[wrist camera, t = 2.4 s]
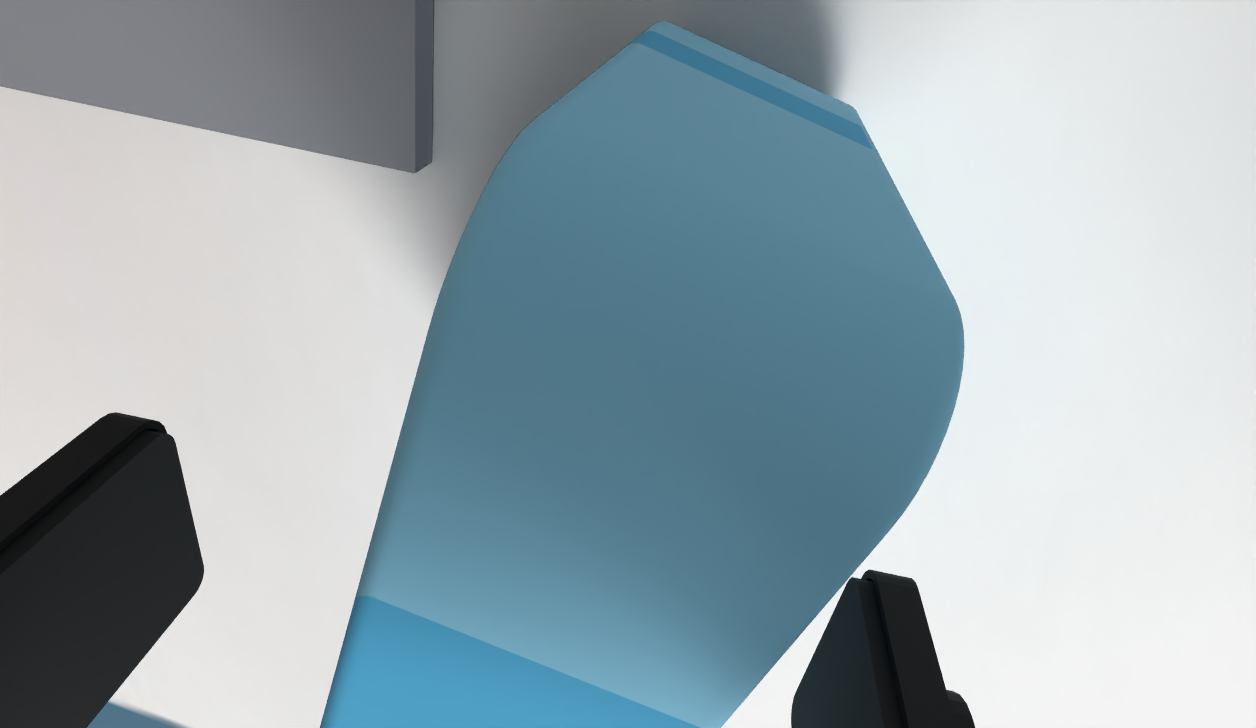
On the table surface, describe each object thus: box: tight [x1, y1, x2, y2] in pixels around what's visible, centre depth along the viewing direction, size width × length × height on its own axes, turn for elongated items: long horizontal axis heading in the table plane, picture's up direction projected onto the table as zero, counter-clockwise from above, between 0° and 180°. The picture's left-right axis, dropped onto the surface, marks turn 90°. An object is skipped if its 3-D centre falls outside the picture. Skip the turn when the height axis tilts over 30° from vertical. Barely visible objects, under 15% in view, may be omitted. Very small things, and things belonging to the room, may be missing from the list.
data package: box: [320, 21, 964, 728], centre depth 14 cm, size 12×4×12 cm, turn 158°
